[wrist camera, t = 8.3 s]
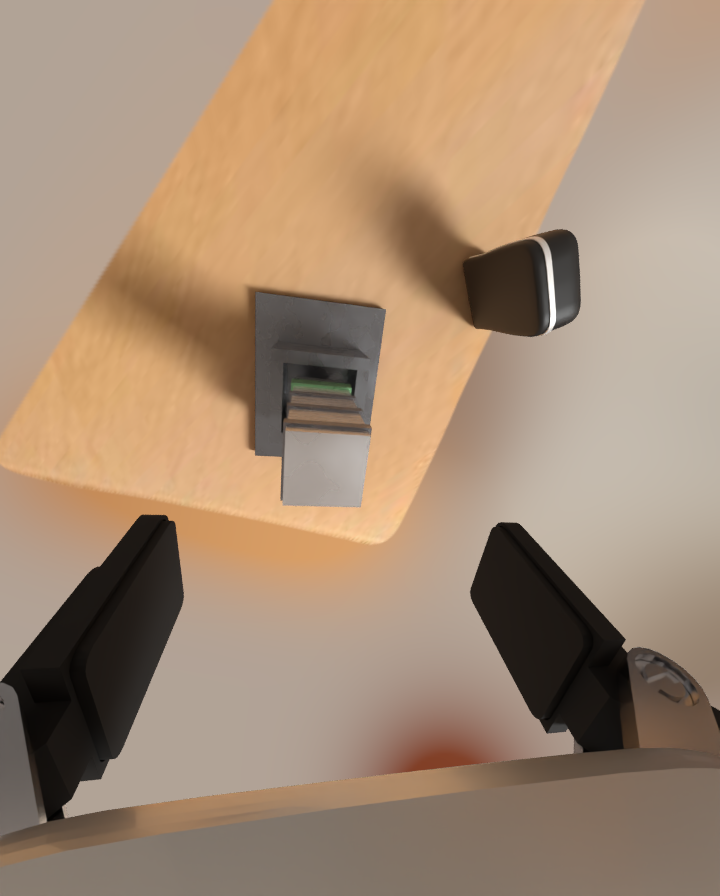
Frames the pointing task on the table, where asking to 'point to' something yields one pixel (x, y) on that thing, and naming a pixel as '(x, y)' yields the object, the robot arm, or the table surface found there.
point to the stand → (310, 356)
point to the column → (323, 445)
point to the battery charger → (526, 285)
